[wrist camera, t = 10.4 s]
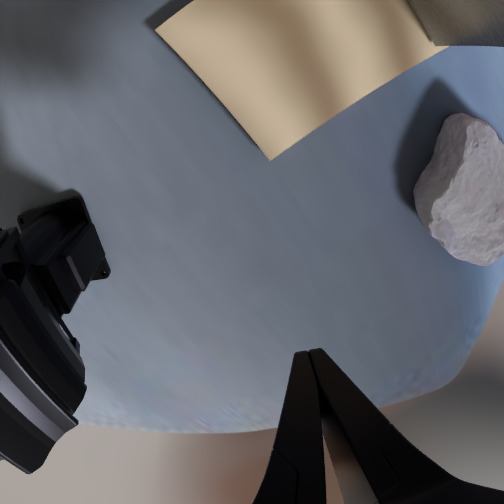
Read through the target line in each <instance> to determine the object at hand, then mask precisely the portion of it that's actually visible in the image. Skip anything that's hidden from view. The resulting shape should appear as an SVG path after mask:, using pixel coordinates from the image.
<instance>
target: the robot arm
mask: <svg viewBox="0 0 504 504" xmlns="http://www.w3.org/2000/svg"><path fill="white" fill-rule="evenodd" d="M75 201H77V202H78V203H79V206H77V205H76V203H75ZM22 218H23V219H24V221H23V219H22ZM17 221H18V224H19V226H20V229H21V231H22V232H21V233H20V234H19V232H18V229H17V227H13V228H10V229H7V230H3V231H2V228H0V460H4V459H5V460H6V461H8V462H9V463H11V464H12V465H14V466H15V467H17V468H18V469H20V470H22V471H23V472H25V473H26V474H31V473H33V472H34V471H36V470H37V469H38V468H40V467H41V466H42V465H43V463H44V461H45V460H46V458H47V456H48V454H49V452H50V451H51V449H52V447H53V446H54V444H55V443H56V442H57V441H58V440H59V438H61V437H62V436H63V434H65V433H66V432H67V431H69V430H70V429H72V428H74V427H75V426H77V425H78V420H77V419H76V418H75V417H74V416H73V414H74V413H75V411H76V410H77V408H78V406H79V405H80V403H81V402H82V400H83V398H84V395H85V392H86V390H87V386H86V385H85V383H84V382H85V367H84V364H83V361H82V358H81V357H80V344H79V342H78V341H77V339H76V338H75V337H73V336H72V334H71V333H70V331H69V330H68V328H67V326H66V325H65V323H64V322H63V320H62V316H63V314H69V313H70V312H71V310H72V308H73V306H74V304H75V303H76V301H77V299H78V297H79V295H80V294H81V292H82V291H85V290H86V288H87V286H88V284H89V282H90V281H92V280H99V279H106V278H108V277H109V275H110V272H111V270H110V267H109V265H108V263H107V260H106V258H105V252H104V250H103V247H102V245H101V242H100V240H99V237H98V234H97V232H96V229H95V226H94V224H93V223H92V222H91V219H90V216H89V214H88V211H87V208H86V205H85V202H84V200H83V198H82V197H81V196H73V197H70V198H66V199H63V200H60V201H56V202H53V203H50V204H47V205H44V206H41V207H38V208H35V209H32V210H29V211H26V212H23V213H21V214H20V215H19V216H18V218H17ZM102 270H104V271H105V272H106V273H104V272H103V271H102ZM322 433H323V435H322ZM322 436H324V439H325V443H326V446H327V449H328V452H329V455H330V458H331V461H332V465H333V467H334V471H335V474H336V477H337V480H338V484H339V486H340V490H341V493H342V496H343V499H344V503H345V504H504V491H502V490H497V489H493V488H489V487H484V486H480V485H476V484H472V483H468V482H465V481H463V480H460V479H458V478H456V477H454V476H453V475H451V474H449V473H448V472H447V471H445V470H444V469H443V468H441V467H440V466H439V465H438V464H436V463H435V462H434V461H432V460H431V459H430V458H428V457H427V456H426V455H425V454H423V453H422V452H421V451H419V449H417V448H416V447H415V446H414V445H413V444H411V443H410V442H409V441H408V440H407V439H406V438H405V437H404V436H403V435H402V434H401V433H400V432H399V431H398V430H397V429H396V428H395V427H394V425H393V424H390V421H389V420H388V419H387V418H386V417H385V416H384V415H383V414H382V413H381V412H380V411H379V410H378V409H377V408H376V406H375V405H374V404H373V403H372V402H371V401H370V400H369V399H368V398H367V397H366V396H365V395H364V394H363V392H362V391H361V390H360V389H359V388H358V387H357V386H356V385H355V384H354V383H353V382H352V381H351V379H350V378H349V377H348V376H347V375H346V374H345V373H344V372H343V371H342V370H341V369H340V368H339V366H338V365H337V364H336V363H335V362H334V361H333V360H332V359H331V358H330V357H329V356H328V355H327V353H326V352H325V351H324V350H323V349H321V348H317V349H311V350H309V351H300V352H296V353H295V354H294V357H293V362H292V367H291V372H290V376H289V381H288V386H287V390H286V395H285V399H284V403H283V408H282V412H281V416H280V421H279V425H278V429H277V433H276V437H275V441H274V445H273V450H272V452H271V456H270V460H269V463H268V466H267V470H266V473H265V476H264V479H263V481H262V483H261V486H260V488H259V490H258V493H257V495H256V497H255V499H254V501H253V503H252V504H326V481H325V465H324V448H323V437H322Z"/></svg>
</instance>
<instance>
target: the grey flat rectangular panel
mask: <svg viewBox="0 0 504 504" xmlns="http://www.w3.org/2000/svg"><path fill="white" fill-rule="evenodd" d="M408 2H409V3H410V5H411V6H412V8H413V9H414V11H415V13H416V14H417V16H418V17H419V19H420V20H421V22H422V24H423V25H424V27H425V29H426V30H427V32H428V34H429V36H430V37H431V39H432V41H433V43H434V45H435V46H498V47H504V0H408Z"/></svg>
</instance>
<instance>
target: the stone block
mask: <svg viewBox="0 0 504 504" xmlns="http://www.w3.org/2000/svg"><path fill="white" fill-rule="evenodd" d="M413 193H414V199H415V206H416V210H417V214H418V216H419V217H420V219H421V222H422V224H423V226H424V227H425V228H426V230H427V231H428V233H429V234H430V235H432V236H433V237H434V238H436V239H437V240H438V241H439V242H440V244H441V246H442V247H443V248H445V249H446V250H447V251H448V253H450V254H451V255H452V256H454V257H455V258H457V259H459V260H467V261H468V262H470V263H474V264H477V265H481V266H487V265H490V264H491V263H493V262H495V261H496V260H498V259H499V258H501V256H502V255H503V254H504V145H503V143H502V142H501V141H500V140H499V139H498V136H497V134H496V132H495V130H494V129H493V128H492V127H491V126H490V125H489V124H487V123H486V122H484V121H483V120H481V119H479V118H475V117H471V116H470V115H468V114H465V113H462V112H461V113H456V114H451V115H450V116H449V117H447V118H446V119H445V121H444V123H443V125H442V128H441V130H440V133H439V134H438V137H437V142H436V144H435V148H434V154H433V156H432V159H431V161H430V162H429V164H428V165H427V166H426V168H425V169H424V170H423V172H422V173H421V175H420V177H419V179H418V181H417V183H416V184H415V187H414V190H413Z"/></svg>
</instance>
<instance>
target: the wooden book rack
mask: <svg viewBox="0 0 504 504" xmlns="http://www.w3.org/2000/svg"><path fill="white" fill-rule="evenodd" d="M155 31H156V32H157V33H158V34H159V35H160V36H161V37H162V38H163V39H164V40H165V41H166V42H167V43H168V44H169V45H170V46H171V47H172V48H173V49H174V50H175V51H176V52H177V53H178V55H179V56H180V57H181V58H182V59H183V60H184V61H185V62H186V63H187V64H188V65H189V66H190V67H191V68H192V70H193V71H194V72H195V73H196V74H197V75H198V76H199V77H200V78H201V79H202V81H203V82H204V83H205V84H206V85H207V86H208V87H209V88H210V89H211V91H212V92H213V93H214V94H215V95H216V96H217V97H218V99H219V100H220V101H221V102H222V103H223V104H224V106H225V107H226V108H227V109H228V110H229V111H230V113H231V114H232V115H233V116H234V117H235V118H236V120H237V121H238V122H239V123H240V124H241V126H242V127H243V128H244V129H245V130H246V132H247V133H248V134H249V135H250V136H251V138H252V139H253V140H254V141H255V143H256V144H257V145H258V146H259V148H260V149H261V150H262V151H263V153H264V154H265V155H266V156H267V158H268V159H269V160H270V161H271V160H272V159H274V158H275V157H276V156H278V155H279V154H280V153H282V152H283V151H285V150H286V149H287V148H289V147H290V146H292V145H293V144H294V143H296V142H297V141H299V140H300V139H302V138H303V137H304V136H306V135H307V134H309V133H310V132H312V131H313V130H314V129H316V128H317V127H319V126H320V125H322V124H323V123H325V122H326V121H328V120H329V119H331V118H332V117H334V116H335V115H337V114H338V113H340V112H341V111H343V110H344V109H346V108H347V107H349V106H350V105H352V104H353V103H355V102H356V101H358V100H360V99H361V98H363V97H364V96H366V95H367V94H369V93H370V92H372V91H374V90H375V89H377V88H378V87H380V86H382V85H383V84H385V83H387V82H388V81H390V80H391V79H393V78H395V77H396V76H398V75H400V74H401V73H403V72H405V71H406V70H408V69H410V68H411V67H413V66H415V65H417V64H418V63H420V62H422V61H424V60H425V59H427V58H429V57H431V56H432V55H434V54H436V53H438V52H440V51H441V50H443V49H445V48H447V47H449V46H435V45H434V43H433V41H432V39H431V37H430V36H429V34H428V32H427V30H426V29H425V27H424V25H423V24H422V22H421V20H420V19H419V17H418V16H417V14H416V13H415V11H414V9H413V8H412V6H411V5H410V3H409V2H408V0H194V1H192V2H191V3H189V4H188V5H186V6H185V7H184V8H182V9H181V10H180V11H178V12H177V13H176V14H174V15H173V16H172V17H170V18H169V19H168V20H167V21H165V22H164V23H163V24H162V25H160V26H159V27H158V28H157V29H156V30H155Z"/></svg>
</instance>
